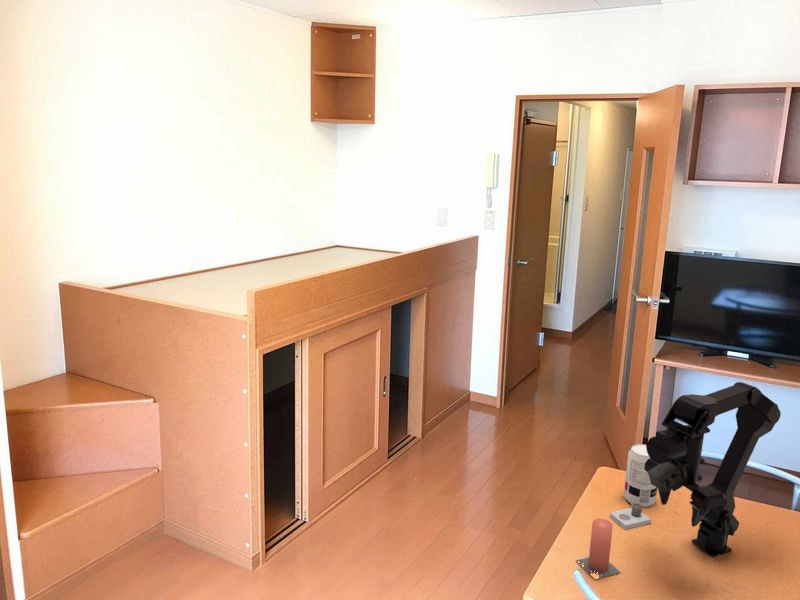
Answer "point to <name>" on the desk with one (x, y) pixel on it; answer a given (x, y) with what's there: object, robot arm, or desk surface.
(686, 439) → the robot arm
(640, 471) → the supplement can
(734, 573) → the desk surface
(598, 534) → the red plug
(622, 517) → the plug tray
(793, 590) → the desk surface
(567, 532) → the desk surface
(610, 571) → the pad
